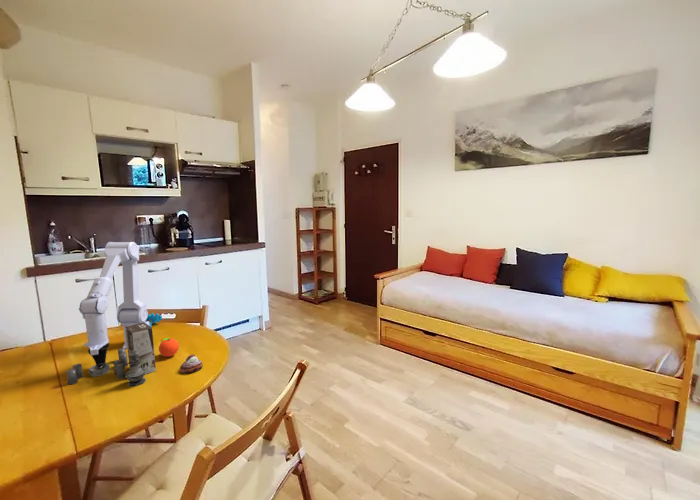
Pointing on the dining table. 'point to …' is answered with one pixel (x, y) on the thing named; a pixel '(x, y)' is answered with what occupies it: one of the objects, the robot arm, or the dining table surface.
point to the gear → (153, 318)
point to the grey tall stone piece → (135, 370)
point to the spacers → (118, 368)
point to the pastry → (191, 365)
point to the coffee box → (141, 344)
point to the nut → (99, 369)
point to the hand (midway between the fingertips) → (101, 365)
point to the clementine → (168, 347)
